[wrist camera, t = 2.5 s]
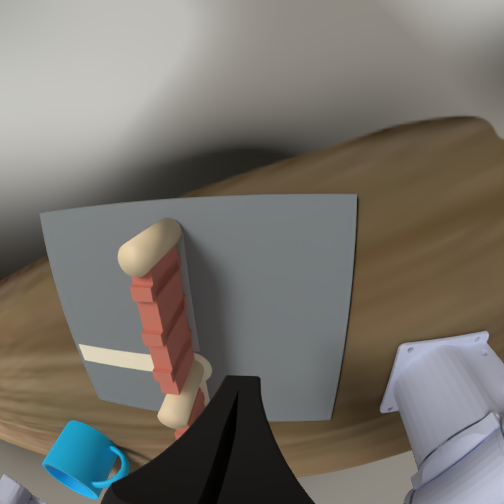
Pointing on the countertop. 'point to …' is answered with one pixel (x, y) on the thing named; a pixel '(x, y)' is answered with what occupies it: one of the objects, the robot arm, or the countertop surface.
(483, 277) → the countertop surface
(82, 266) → the board
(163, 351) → the fence panel
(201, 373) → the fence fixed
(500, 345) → the countertop surface
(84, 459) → the mug
